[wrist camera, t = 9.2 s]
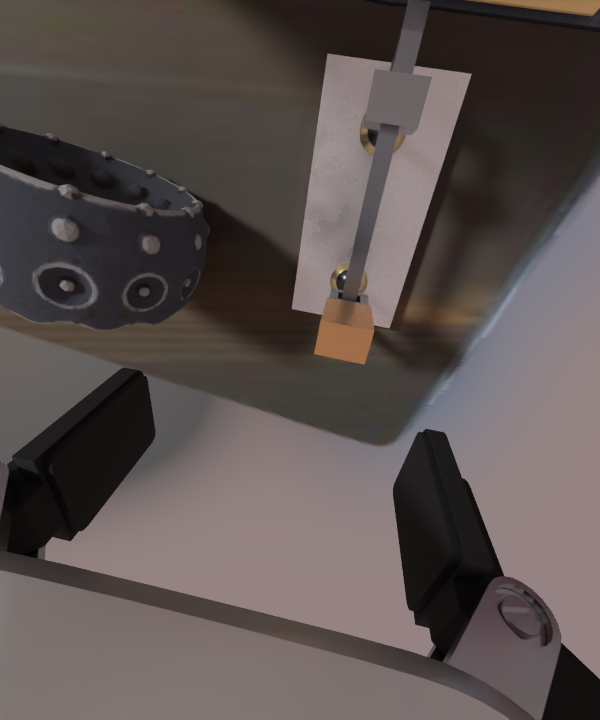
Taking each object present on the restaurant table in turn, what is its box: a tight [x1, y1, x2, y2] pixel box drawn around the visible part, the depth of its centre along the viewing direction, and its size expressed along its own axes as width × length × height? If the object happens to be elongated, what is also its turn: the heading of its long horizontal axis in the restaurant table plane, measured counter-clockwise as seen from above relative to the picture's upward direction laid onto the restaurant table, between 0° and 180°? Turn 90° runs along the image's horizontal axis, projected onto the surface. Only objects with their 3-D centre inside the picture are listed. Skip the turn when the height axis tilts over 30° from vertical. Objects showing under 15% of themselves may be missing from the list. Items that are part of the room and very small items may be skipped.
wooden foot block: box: [314, 284, 374, 364], centre depth 27 cm, size 3×4×15 cm
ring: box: [0, 124, 210, 331], centre depth 28 cm, size 11×20×20 cm, turn 68°
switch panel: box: [292, 0, 472, 328], centre depth 27 cm, size 23×12×12 cm, turn 172°
